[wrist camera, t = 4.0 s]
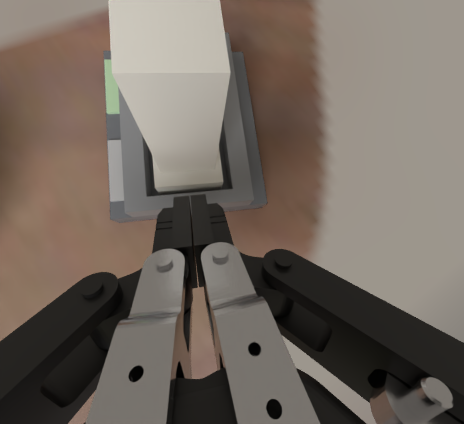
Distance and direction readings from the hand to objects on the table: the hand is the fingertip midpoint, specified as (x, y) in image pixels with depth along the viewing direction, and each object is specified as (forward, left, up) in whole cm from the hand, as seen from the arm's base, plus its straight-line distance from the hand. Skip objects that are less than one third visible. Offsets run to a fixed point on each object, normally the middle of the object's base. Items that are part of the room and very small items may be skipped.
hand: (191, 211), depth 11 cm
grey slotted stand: (0, +7, -5) cm, 8 cm away
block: (0, +4, -3) cm, 5 cm away
